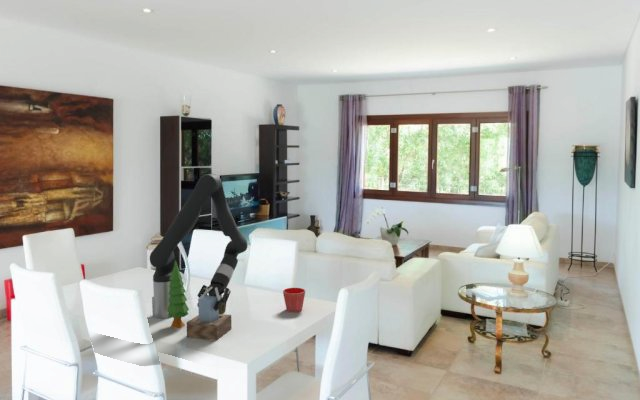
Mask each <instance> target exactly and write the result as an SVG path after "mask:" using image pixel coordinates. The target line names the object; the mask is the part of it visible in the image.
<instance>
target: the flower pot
mask: <svg viewBox="0 0 640 400" xmlns="http://www.w3.org/2000/svg"><path fill="white" fill-rule="evenodd" d="M282 294H283V300H284V304H285V309H286V311H288V312H293V313H294V312H296V313H297V312H301V311H302V310H303V306H304V302H305V295H306V290H305V288H301V287H289V288H288V287H287V288H285V289H283V290H282Z"/></svg>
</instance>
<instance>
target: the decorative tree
mask: <svg viewBox="0 0 640 400" xmlns="http://www.w3.org/2000/svg"><path fill="white" fill-rule="evenodd" d="M169 280H171V281H170V285H169V288H170V291H169V295H170V298H169V300H168V301H169V302H170V304H169V306H168V309H167V312H169V314H168V318H173V321H172V322H171V327H172V328H173V329H181V328H183V327H185V326H186V324H185V323H184V322H183V321H182V318H184V317H186V316H189V313H188V311H190V309H189V306H188V305H187V303H186V301H187V300H188V299H187V297H186V295H185V294H186V290H185V287H184V285H185V284H184V281H183V277H182V275H181V272H180V269H179V266H178V262H177V260H176V259H175V264H174V268H173V271H172V274H171V276H170V278H169Z"/></svg>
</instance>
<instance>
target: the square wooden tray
mask: <svg viewBox="0 0 640 400" xmlns="http://www.w3.org/2000/svg"><path fill="white" fill-rule="evenodd" d="M231 330H232V315H231V314H226V313H224V314H219V319H218V320H216V321H214V322H200V321H199V314H198V315H196V316H194V317H193V318H191V319H189V320H188V321H186V338H189V339H200V340H201V339H202V340H210V339H213V340H212V341H218V340H220V339H221V338H222V337H223V336H225V335H226V334H228V332H230V331H231ZM219 338H220V339H219Z"/></svg>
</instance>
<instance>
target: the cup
mask: <svg viewBox="0 0 640 400" xmlns="http://www.w3.org/2000/svg"><path fill="white" fill-rule="evenodd" d="M226 309H227V302H226V303H224V302H223V303H221V305H220V307H219V314H226V313H225V312H226V311H227V310H226Z"/></svg>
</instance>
